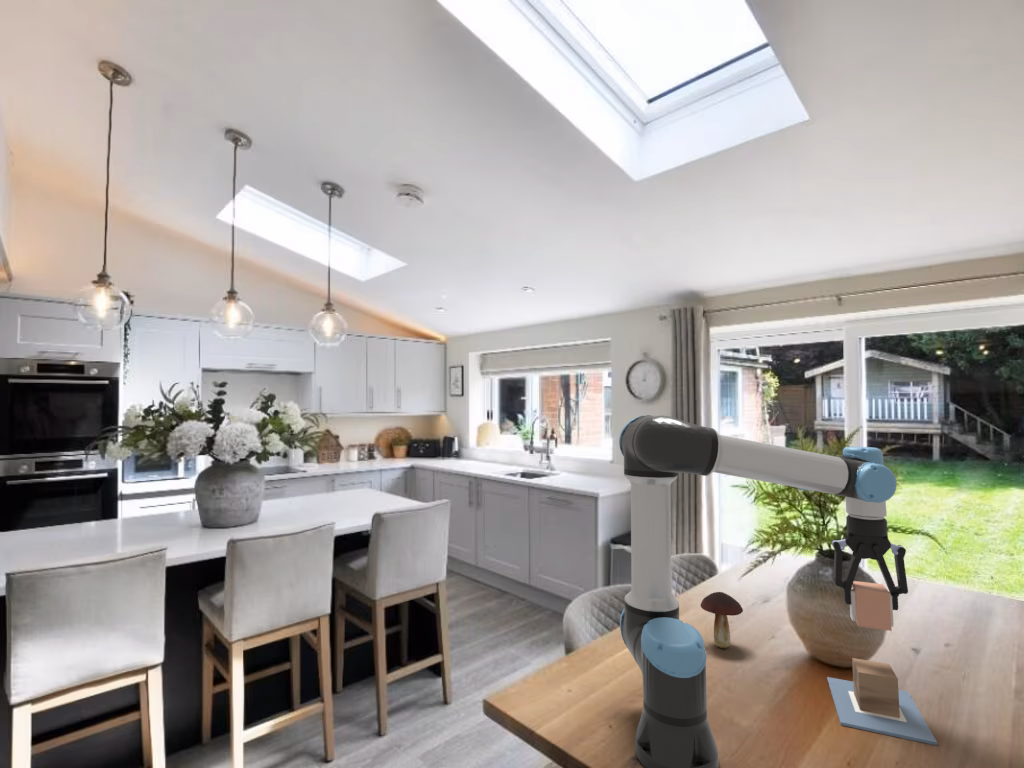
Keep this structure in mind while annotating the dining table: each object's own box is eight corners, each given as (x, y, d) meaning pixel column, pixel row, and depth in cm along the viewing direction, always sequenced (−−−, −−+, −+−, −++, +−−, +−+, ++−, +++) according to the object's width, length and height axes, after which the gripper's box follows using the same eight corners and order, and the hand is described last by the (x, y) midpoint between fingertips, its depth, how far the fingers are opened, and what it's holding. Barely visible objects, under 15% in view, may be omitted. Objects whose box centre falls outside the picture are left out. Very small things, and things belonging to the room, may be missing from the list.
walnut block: (899, 718, 107) (897, 678, 107) (860, 710, 109) (858, 672, 110) (891, 701, 113) (889, 664, 113) (853, 694, 116) (852, 658, 116)
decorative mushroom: (709, 635, 149) (707, 583, 150) (748, 646, 142) (746, 591, 143) (695, 649, 140) (694, 593, 141) (737, 660, 133) (735, 602, 134)
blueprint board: (937, 745, 99) (937, 741, 99) (840, 725, 106) (840, 721, 106) (908, 694, 117) (907, 691, 117) (827, 679, 124) (827, 676, 124)
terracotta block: (891, 630, 108) (889, 592, 109) (858, 626, 111) (856, 588, 111) (884, 620, 114) (882, 584, 114) (853, 616, 116) (851, 580, 117)
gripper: (913, 516, 113) (919, 622, 112) (815, 510, 121) (819, 609, 120) (924, 522, 106) (930, 635, 105) (819, 515, 114) (823, 620, 113)
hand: (871, 621), depth 112 cm, fingers closed on terracotta block, 6 cm apart
